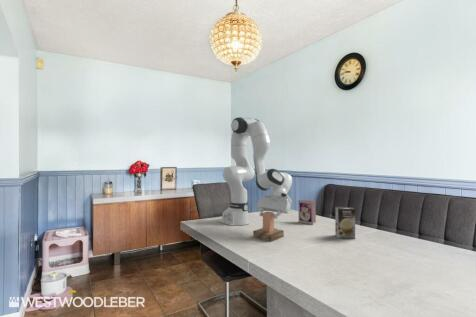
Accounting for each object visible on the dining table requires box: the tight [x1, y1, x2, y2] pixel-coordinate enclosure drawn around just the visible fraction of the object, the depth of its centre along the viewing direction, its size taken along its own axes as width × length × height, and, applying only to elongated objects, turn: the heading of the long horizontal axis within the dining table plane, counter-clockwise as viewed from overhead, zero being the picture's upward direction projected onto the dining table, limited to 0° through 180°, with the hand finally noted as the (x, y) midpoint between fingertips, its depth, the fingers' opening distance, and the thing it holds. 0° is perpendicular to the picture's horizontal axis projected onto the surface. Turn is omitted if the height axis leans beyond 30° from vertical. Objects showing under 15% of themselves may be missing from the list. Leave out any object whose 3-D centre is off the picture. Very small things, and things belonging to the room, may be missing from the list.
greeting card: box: [297, 199, 317, 225], centre depth 180 cm, size 11×7×15 cm, turn 43°
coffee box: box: [334, 206, 356, 239], centre depth 146 cm, size 9×6×16 cm
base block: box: [252, 227, 285, 242], centre depth 147 cm, size 12×12×4 cm
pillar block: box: [262, 211, 275, 232], centre depth 147 cm, size 4×4×10 cm
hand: (267, 216), depth 146 cm, fingers open, 8 cm apart
